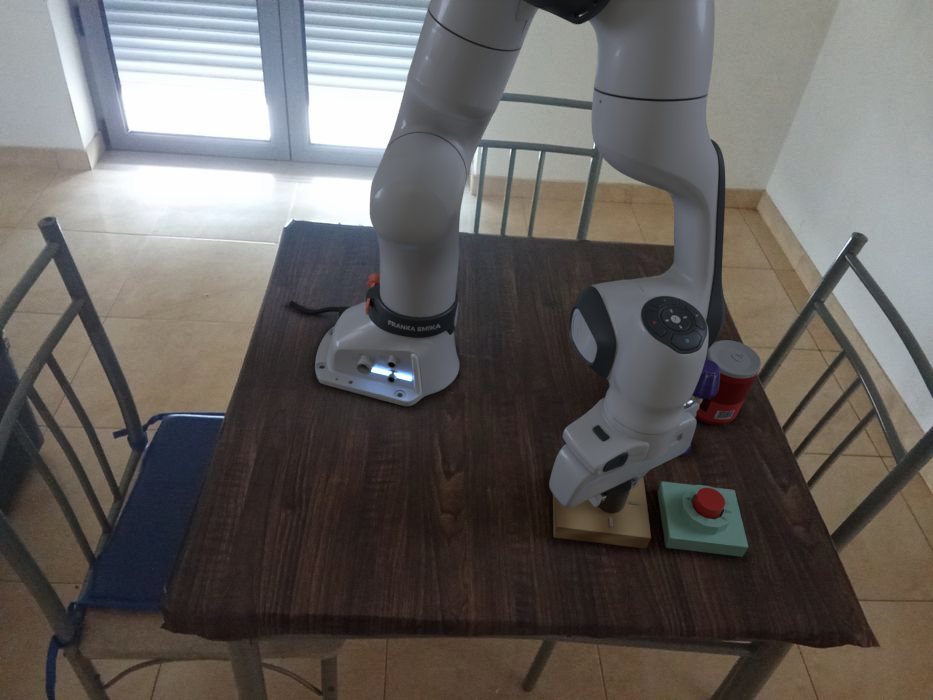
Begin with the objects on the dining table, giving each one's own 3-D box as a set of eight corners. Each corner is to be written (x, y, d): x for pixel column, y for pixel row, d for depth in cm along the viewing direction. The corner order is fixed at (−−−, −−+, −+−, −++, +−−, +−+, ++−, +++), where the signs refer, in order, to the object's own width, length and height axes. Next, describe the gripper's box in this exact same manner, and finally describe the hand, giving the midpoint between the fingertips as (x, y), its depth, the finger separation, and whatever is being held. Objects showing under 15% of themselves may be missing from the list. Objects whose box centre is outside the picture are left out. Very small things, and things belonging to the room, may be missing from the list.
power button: (695, 516, 91) (699, 508, 90) (690, 493, 94) (694, 485, 93) (723, 520, 91) (727, 512, 90) (718, 497, 94) (722, 489, 93)
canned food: (744, 408, 112) (770, 357, 104) (721, 435, 107) (746, 383, 100) (701, 383, 115) (723, 332, 108) (676, 407, 111) (698, 356, 103)
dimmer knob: (612, 518, 91) (619, 498, 88) (588, 498, 93) (594, 478, 90) (630, 502, 93) (638, 482, 90) (606, 483, 95) (613, 462, 92)
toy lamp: (690, 462, 103) (728, 381, 91) (658, 456, 103) (692, 373, 92) (689, 438, 106) (726, 356, 95) (658, 431, 107) (691, 349, 95)
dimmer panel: (553, 537, 91) (556, 526, 90) (552, 475, 99) (556, 463, 97) (646, 549, 91) (651, 537, 89) (638, 486, 99) (643, 474, 97)
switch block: (665, 547, 92) (673, 530, 89) (657, 491, 98) (664, 473, 96) (742, 557, 92) (753, 539, 89) (729, 499, 98) (738, 482, 96)
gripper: (683, 377, 89) (655, 448, 98) (552, 433, 81) (534, 505, 90) (720, 411, 85) (686, 481, 95) (586, 473, 77) (563, 543, 86)
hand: (611, 493), depth 92 cm, fingers closed on dimmer knob, 4 cm apart
